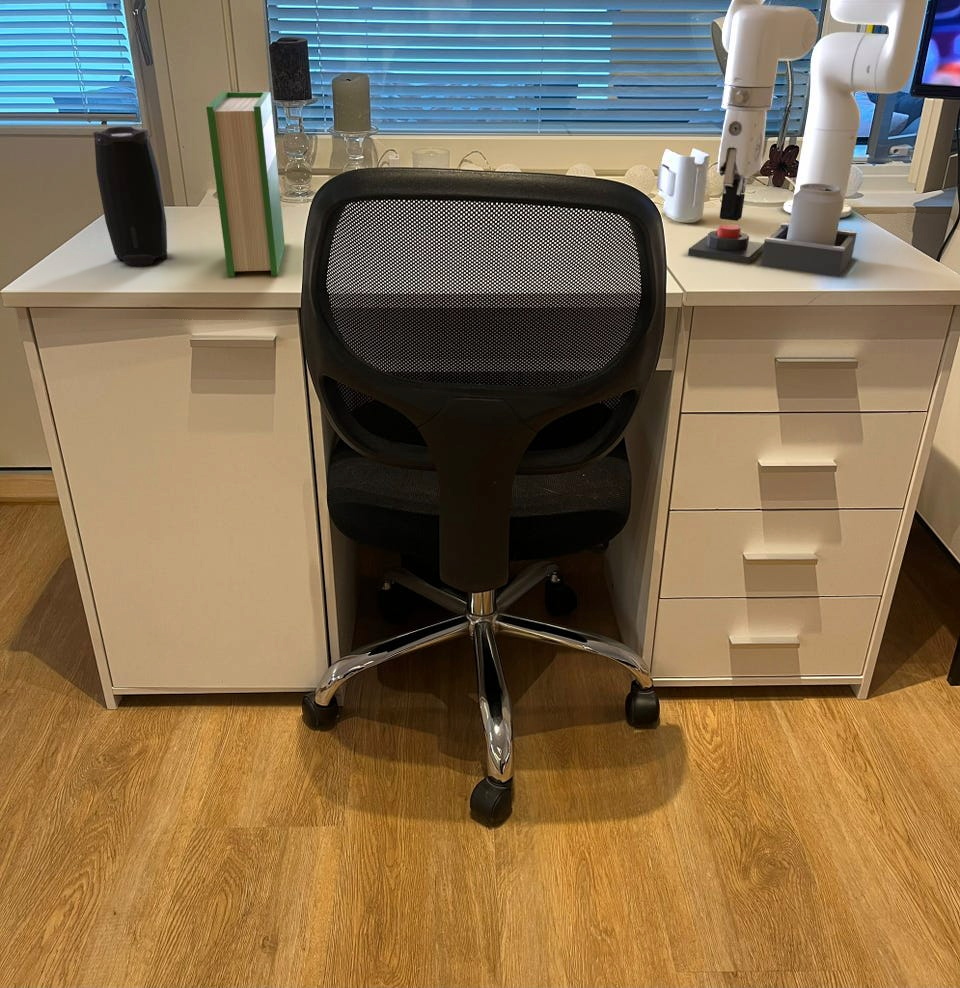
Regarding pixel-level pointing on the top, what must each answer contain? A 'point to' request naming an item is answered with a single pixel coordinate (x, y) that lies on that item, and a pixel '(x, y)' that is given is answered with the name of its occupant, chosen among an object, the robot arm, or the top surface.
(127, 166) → the portable speaker
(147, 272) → the top surface
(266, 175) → the hardback book
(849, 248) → the grey open tray
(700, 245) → the control block
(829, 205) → the can
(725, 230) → the release button
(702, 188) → the cable organizer
